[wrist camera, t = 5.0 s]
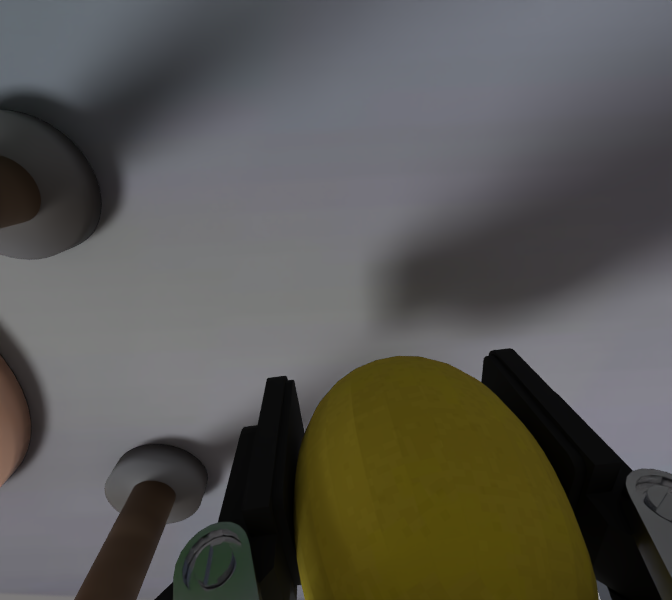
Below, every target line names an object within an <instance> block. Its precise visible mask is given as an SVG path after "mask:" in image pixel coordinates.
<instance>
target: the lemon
mask: <svg viewBox="0 0 672 600" xmlns="http://www.w3.org/2000/svg"><path fill="white" fill-rule="evenodd" d="M293 529H294V541H295V549H296V557H297V563H298V569H299V574H300V580H301V584H302V588H303V593H304V597H305V600H599V599H598V590H597V582H596V578H595V574H594V571H593V567H592V563H591V559H590V555H589V553H588V550H587V547H586V544H585V542H584V539H583V536H582V533H581V531H580V528H579V525H578V523H577V520H576V517H575V515H574V512H573V510H572V507H571V505H570V503H569V500H568V498H567V496H566V493H565V491H564V489H563V487H562V485H561V483H560V481H559V479H558V477H557V475H556V473H555V471H554V469H553V467H552V465H551V464H550V462H549V460H548V458H547V457H546V455H545V453H544V451H543V450H542V448H541V447H540V445H539V444H538V443H537V441H536V440H535V438H534V437H533V435H532V434H531V433H530V432H529V430H528V429H527V428H526V426H525V425H524V424H523V423H522V422H521V421H520V420H519V418H518V417H517V416H516V415H515V414H514V413H513V412H512V411H511V410H510V409H509V408H508V407H507V406H506V405H505V404H504V403H503V402H502V401H501V400H500V399H499V397H498V396H497V395H496V394H494V393H493V392H492V391H491V390H490V389H489V388H488V387H487V386H485V385H484V384H483V383H481V382H480V381H478V380H477V379H475V378H473V377H472V376H470V375H468V374H466V373H464V372H462V371H461V370H459V369H457V368H455V367H453V366H451V365H449V364H447V363H443V362H439V361H435V360H431V359H427V358H423V357H419V356H395V357H390V358H385V359H380V360H375V361H373V362H371V363H368V364H366V365H364V366H361V367H359V368H356V369H355V370H353V371H352V372H350V373H349V374H348V375H346V376H345V377H343V378H342V379H341V380H339V381H338V382H337V383H336V384H335V385H334V386H333V387H332V389H331V390H330V391H329V392H328V393H327V394H326V396H325V397H324V398H323V399H322V400H321V401H320V403H319V405H318V406H317V408H316V410H315V412H314V414H313V416H312V418H311V420H310V422H309V425H308V427H307V429H306V431H305V434H304V437H303V439H302V443H301V446H300V450H299V455H298V461H297V467H296V476H295V486H294V498H293Z"/></svg>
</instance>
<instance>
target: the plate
mask: <svg viewBox="0 0 672 600" xmlns="http://www.w3.org/2000/svg"><path fill="white" fill-rule="evenodd" d="M30 438H31V420H30V414H29V408H28V405H27V402H26V399H25V396H24V394H23V391H22V389H21V387H20V385H19V383H18V381H17V379H16V378H15V376H14V374H13V372H12V371H11V369H10V368H9V366H8V365H7V364H6V362H5V361H4V359H3V358H2V356H1V355H0V487H1V486H2V485H3V484H4V483H5V482H6V481H7V480H8V478H9V477H10V476H11V475H12V474H13V473H14V472H15V470H16V469H17V468H18V467H19V465H20V464H21V463H22V461H23V459H24V457H25V455H26V453H27V451H28V447H29V442H30Z"/></svg>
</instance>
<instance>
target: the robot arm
mask: <svg viewBox="0 0 672 600" xmlns="http://www.w3.org/2000/svg"><path fill="white" fill-rule="evenodd" d="M481 383H483V384H484V385H485V386H487V387H488V388H489V389H490V390H491V391H492V392H493V393H494V394H496V395H497V396H498V397H499V399H500V400H501V401H502V402H503V403H504V404H505V405H506V406H507V407H508V408H509V409H510V410H511V411H512V412H513V413H514V414H515V415H516V416H517V417H518V418H519V420H520V421H521V422H522V423H523V424H524V425H525V426H526V428H527V429H528V430H529V432H530V433H531V434H532V435H533V437H534V438H535V440H536V441H537V443H538V444H539V445H540V447H541V448H542V450H543V451H544V453H545V455H546V457H547V458H548V460H549V462H550V464H551V465H552V467H553V469H554V471H555V473H556V475H557V477H558V479H559V481H560V483H561V485H562V487H563V489H564V491H565V493H566V496H567V498H568V500H569V503H570V505H571V507H572V510H573V512H574V515H575V517H576V520H577V523H578V525H579V528H580V531H581V533H582V536H583V539H584V542H585V544H586V547H587V550H588V553H589V555H590V559H591V563H592V567H593V571H594V574H595V578H596V582H597V590H598V593H599V596H600V599H601V600H672V474H670V473H667V472H664V471H660V470H655V469H638V470H635V471H632V470H631V468H630V467H629V466H628V465H627V464H626V463H625V462H624V461H623V460H622V459H621V458H620V457H619V456H618V455H617V454H616V453H615V452H614V451H613V450H612V449H611V448H610V447H609V446H608V445H607V444H606V443H605V442H604V441H603V440H602V439H601V438H600V437H599V436H598V435H597V434H596V433H595V432H594V431H593V430H592V429H591V428H590V427H589V426H588V425H587V424H586V422H585V421H584V420H583V419H582V418H581V417H580V416H579V415H578V414H577V413H576V412H575V411H574V410H573V409H572V408H571V407H570V406H569V405H568V404H567V403H566V402H565V401H564V400H563V399H562V398H561V397H560V396H559V395H558V394H557V393H556V392H554V391H553V390H552V389H551V388H550V387H549V386H548V385H547V384H546V383H545V382H544V381H543V380H542V378H541V377H540V376H539V375H538V374H537V373H536V372H535V371H534V370H533V369H532V368H531V367H530V366H529V365H528V364H527V363H526V362H525V361H524V360H523V359H522V358H521V357H520V356H519V355H518V354H517V353H516V352H515V351H514V350H513V349H510V348H509V349H500V350H492V351H490V353H489V356H486V357H485V358H484V361H483V372H482V382H481ZM304 434H305V433H304V428H303V423H302V418H301V413H300V407H299V402H298V397H297V392H296V387H295V382H294V380H288V379H287V376H280V377H272V378H268V379H267V381H266V386H265V391H264V396H263V401H262V406H261V411H260V416H259V421H258V425H256V426H248V427H244V428H243V429H242V431H241V434H240V438H239V442H238V446H237V449H236V453H235V457H234V461H233V465H232V469H231V473H230V477H229V481H228V485H227V489H226V493H225V497H224V500H223V504H222V508H221V512H220V516H219V520H218V523H215V524H212V525H209V526H208V527H206V528H204V529H203V530H201V531H199V532H198V533H197V534H196V535H195V536H194V537H193V538H192V539H191V540H189V542H188V543H187V545H186V546H185V547H184V549H183V550H182V551H181V554H180V556H179V558H178V560H177V563H176V566H175V571H174V577H173V583H172V584H170V585H169V586H168V587H167V588H166V589H165V590H164V591H163V592H162V593H161V594H160V595H159V596H158V597H157V598H156V599H155V600H297V585H302V584H301V580H300V574H299V569H298V563H297V557H296V549H295V541H294V529H293V498H294V486H295V476H296V467H297V461H298V455H299V450H300V446H301V443H302V439H303V437H304Z"/></svg>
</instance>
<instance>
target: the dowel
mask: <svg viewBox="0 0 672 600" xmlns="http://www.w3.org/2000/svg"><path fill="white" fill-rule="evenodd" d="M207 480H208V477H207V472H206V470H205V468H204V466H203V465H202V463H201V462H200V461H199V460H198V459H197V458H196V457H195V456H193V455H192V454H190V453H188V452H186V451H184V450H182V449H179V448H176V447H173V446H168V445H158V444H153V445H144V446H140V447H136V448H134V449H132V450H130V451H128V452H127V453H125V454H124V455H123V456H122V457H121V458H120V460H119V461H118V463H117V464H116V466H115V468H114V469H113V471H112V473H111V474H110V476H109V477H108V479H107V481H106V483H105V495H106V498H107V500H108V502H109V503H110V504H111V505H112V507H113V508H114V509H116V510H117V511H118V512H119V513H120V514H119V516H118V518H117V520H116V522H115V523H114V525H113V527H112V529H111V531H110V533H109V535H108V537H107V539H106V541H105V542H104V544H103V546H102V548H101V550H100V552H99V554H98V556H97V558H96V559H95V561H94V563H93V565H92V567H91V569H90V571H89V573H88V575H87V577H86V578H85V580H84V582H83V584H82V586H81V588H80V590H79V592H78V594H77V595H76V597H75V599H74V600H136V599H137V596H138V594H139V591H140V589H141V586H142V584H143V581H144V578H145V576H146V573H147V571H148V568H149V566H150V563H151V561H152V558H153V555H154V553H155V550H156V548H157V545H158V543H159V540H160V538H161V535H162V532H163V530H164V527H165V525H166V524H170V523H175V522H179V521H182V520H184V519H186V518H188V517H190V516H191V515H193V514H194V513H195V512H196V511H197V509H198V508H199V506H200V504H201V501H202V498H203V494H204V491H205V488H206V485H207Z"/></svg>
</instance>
